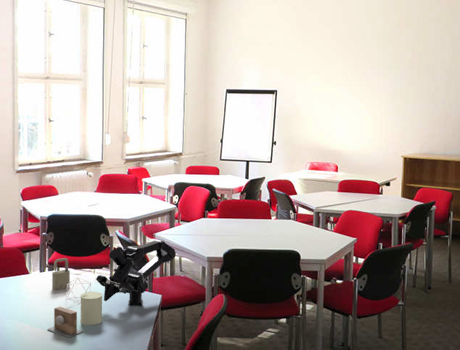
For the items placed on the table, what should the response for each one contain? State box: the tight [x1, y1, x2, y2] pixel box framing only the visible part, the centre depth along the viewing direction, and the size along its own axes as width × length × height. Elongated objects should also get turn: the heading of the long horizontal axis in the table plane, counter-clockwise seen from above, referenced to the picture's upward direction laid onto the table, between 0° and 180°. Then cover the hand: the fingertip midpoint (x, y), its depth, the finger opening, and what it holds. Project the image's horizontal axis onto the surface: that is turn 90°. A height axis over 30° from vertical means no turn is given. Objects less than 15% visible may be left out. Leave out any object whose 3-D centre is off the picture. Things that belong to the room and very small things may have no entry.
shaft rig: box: [47, 306, 83, 339], centre depth 238 cm, size 8×13×9 cm, turn 57°
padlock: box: [51, 257, 71, 290], centre depth 292 cm, size 4×8×15 cm, turn 133°
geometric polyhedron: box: [66, 277, 92, 305], centre depth 276 cm, size 12×11×9 cm
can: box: [80, 291, 103, 326], centre depth 250 cm, size 9×9×12 cm
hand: (104, 300), depth 257 cm, fingers closed
